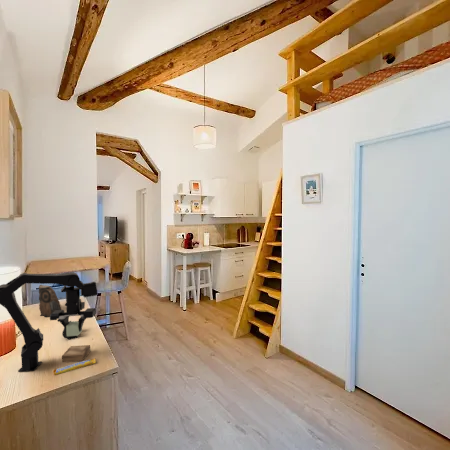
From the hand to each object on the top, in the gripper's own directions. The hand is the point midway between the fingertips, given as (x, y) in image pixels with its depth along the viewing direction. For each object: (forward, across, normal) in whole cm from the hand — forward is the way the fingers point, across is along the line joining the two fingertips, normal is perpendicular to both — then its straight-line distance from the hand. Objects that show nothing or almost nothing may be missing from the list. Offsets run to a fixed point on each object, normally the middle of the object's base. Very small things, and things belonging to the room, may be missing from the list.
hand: (74, 331), depth 128 cm
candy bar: (+12, -4, +11) cm, 17 cm away
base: (+12, -1, +1) cm, 12 cm away
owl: (+12, +37, -58) cm, 70 cm away
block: (+1, 0, 0) cm, 1 cm away
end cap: (+12, +11, -22) cm, 27 cm away
